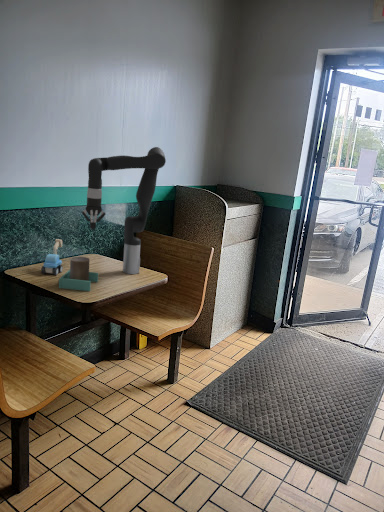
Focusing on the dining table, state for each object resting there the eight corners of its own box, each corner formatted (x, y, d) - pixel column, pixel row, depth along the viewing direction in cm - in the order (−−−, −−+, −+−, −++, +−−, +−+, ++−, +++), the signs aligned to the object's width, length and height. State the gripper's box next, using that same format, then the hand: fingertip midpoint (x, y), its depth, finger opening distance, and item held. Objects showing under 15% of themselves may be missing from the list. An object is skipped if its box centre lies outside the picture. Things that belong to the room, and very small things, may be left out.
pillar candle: (91, 285, 220) (93, 258, 217) (74, 288, 214) (75, 259, 211) (83, 280, 227) (84, 253, 224) (66, 282, 221) (67, 254, 218)
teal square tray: (98, 281, 228) (98, 272, 227) (89, 291, 212) (90, 282, 210) (69, 278, 228) (70, 269, 227) (58, 288, 212) (59, 278, 211)
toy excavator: (67, 268, 245) (68, 239, 241) (55, 276, 229) (56, 245, 225) (52, 266, 246) (53, 237, 241) (40, 274, 229) (40, 243, 225)
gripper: (81, 197, 218) (80, 230, 222) (107, 198, 222) (106, 231, 226) (81, 195, 225) (79, 227, 229) (106, 196, 229) (104, 228, 233)
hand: (92, 229), depth 228 cm, fingers closed
